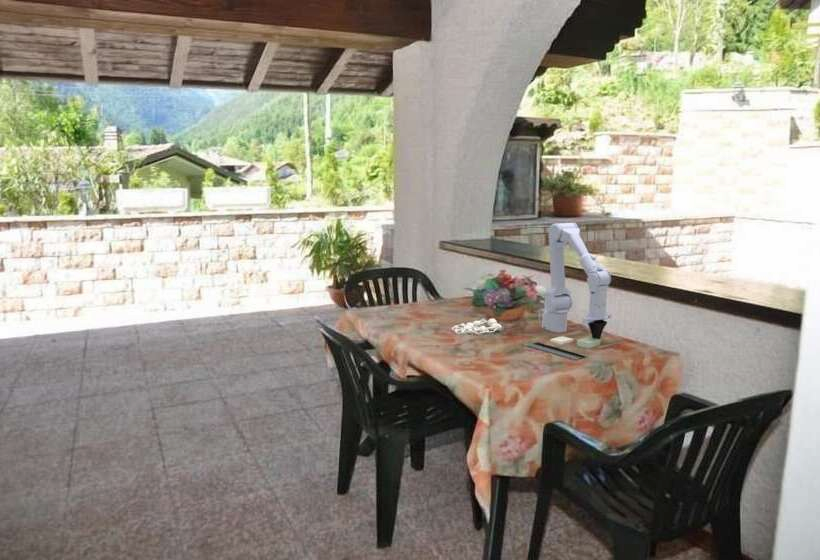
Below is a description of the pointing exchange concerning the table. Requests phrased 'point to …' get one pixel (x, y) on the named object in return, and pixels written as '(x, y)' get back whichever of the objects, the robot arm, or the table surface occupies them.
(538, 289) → the lollipop
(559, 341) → the tile cream
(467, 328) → the tangled rod sculpture
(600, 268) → the robot arm
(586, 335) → the board
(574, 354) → the mat
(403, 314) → the table surface
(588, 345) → the tile sage
